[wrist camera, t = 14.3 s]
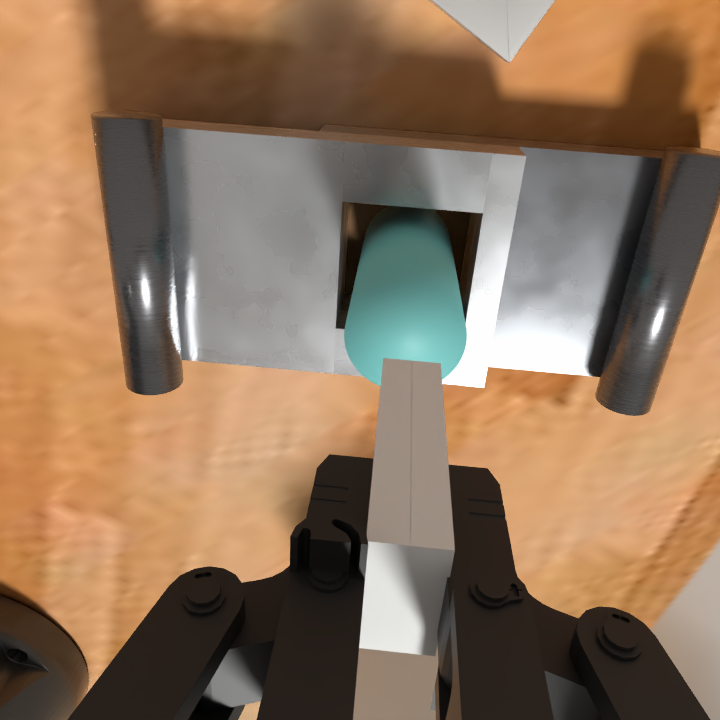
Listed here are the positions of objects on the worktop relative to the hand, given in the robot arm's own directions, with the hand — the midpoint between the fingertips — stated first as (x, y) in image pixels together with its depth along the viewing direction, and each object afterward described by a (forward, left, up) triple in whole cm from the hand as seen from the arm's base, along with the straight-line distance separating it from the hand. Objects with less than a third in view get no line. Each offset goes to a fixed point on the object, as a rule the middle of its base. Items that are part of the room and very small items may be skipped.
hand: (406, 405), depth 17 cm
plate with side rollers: (0, 0, -14) cm, 14 cm away
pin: (0, 0, -14) cm, 14 cm away
